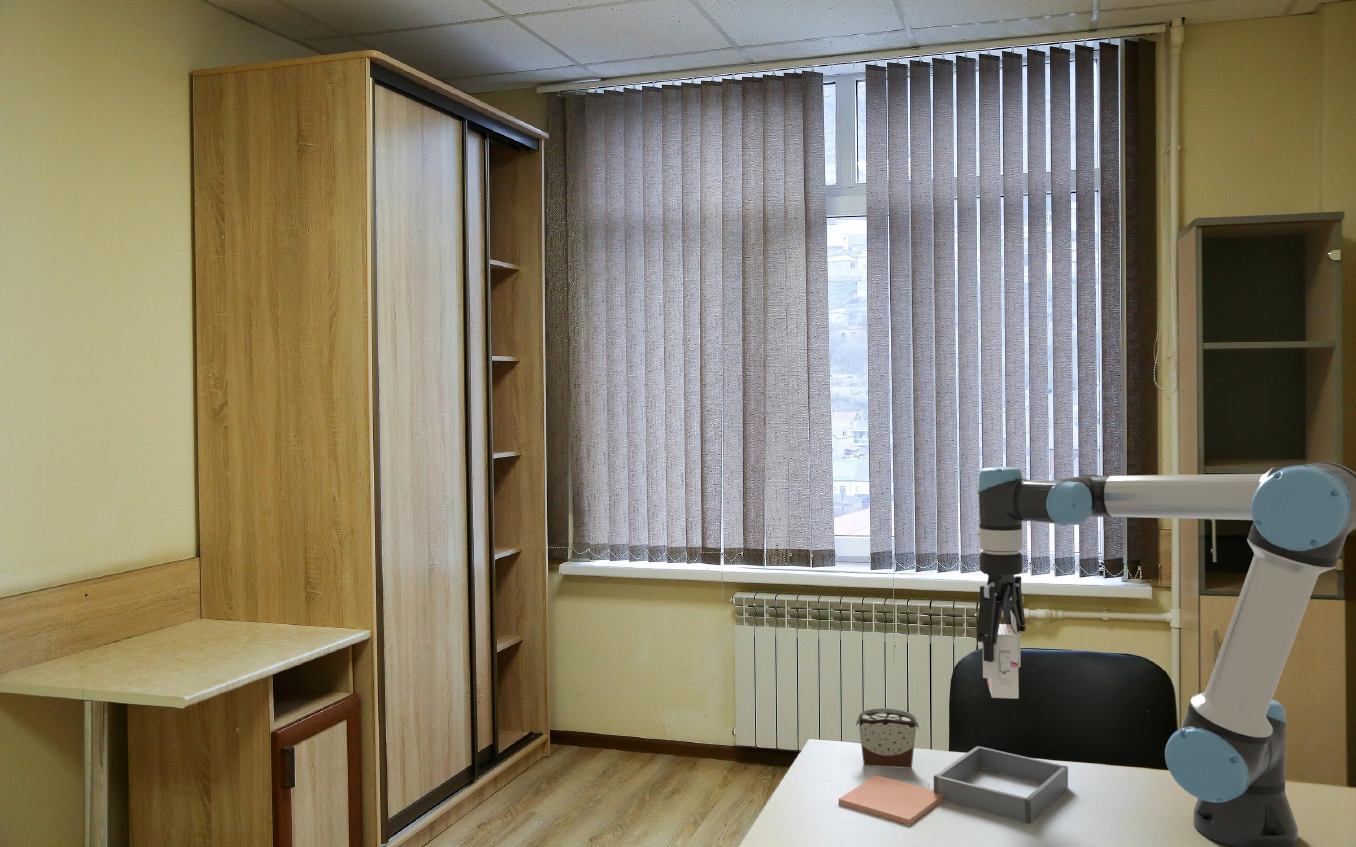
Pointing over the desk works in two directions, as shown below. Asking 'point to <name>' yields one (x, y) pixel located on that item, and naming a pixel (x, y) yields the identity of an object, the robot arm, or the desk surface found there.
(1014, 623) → the ink cartridge box
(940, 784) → the parts bin
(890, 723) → the food container
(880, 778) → the terracotta tile
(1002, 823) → the desk surface
